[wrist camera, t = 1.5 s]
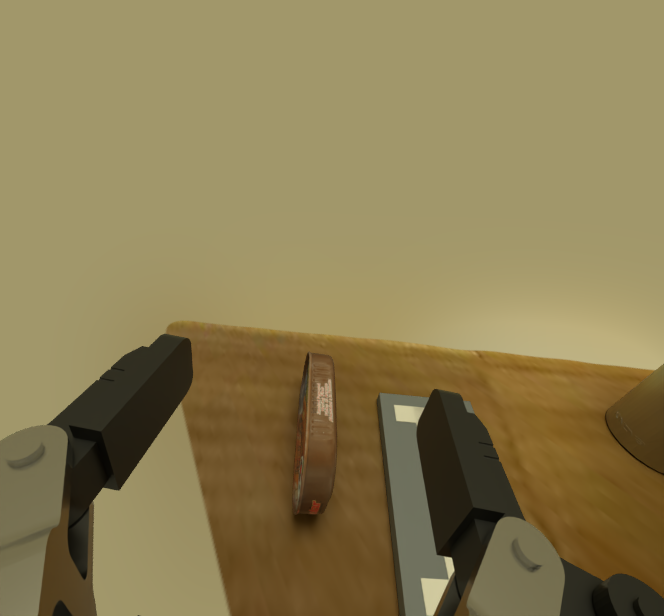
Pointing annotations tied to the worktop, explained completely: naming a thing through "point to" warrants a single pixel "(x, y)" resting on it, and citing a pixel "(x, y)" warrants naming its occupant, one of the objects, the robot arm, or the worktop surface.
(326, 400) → the tin
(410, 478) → the letter board
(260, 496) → the worktop surface
